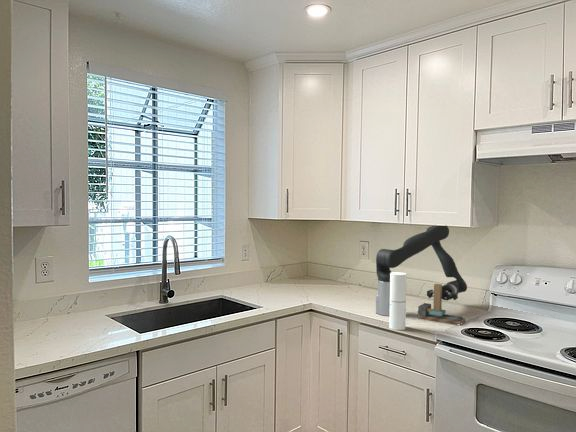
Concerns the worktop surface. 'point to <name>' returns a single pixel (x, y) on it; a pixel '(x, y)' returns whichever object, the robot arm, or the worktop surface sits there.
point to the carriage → (437, 301)
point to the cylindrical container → (397, 301)
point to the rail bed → (443, 319)
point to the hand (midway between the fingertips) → (437, 297)
